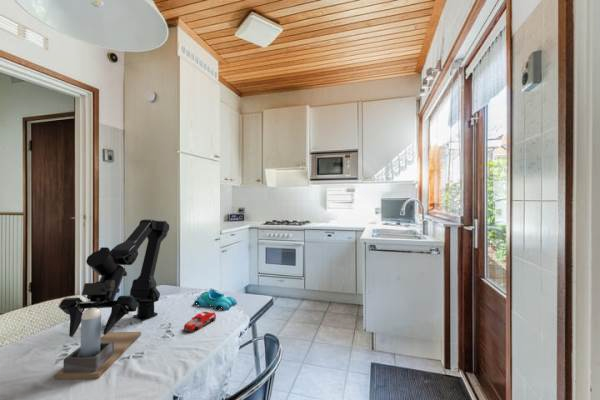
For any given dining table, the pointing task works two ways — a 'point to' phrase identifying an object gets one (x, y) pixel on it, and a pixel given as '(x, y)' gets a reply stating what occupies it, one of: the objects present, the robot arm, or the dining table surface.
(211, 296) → the toy car
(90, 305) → the robot arm
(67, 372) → the board
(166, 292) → the dining table surface
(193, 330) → the race car
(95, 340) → the post
